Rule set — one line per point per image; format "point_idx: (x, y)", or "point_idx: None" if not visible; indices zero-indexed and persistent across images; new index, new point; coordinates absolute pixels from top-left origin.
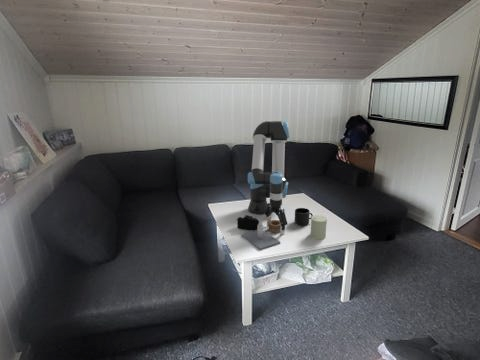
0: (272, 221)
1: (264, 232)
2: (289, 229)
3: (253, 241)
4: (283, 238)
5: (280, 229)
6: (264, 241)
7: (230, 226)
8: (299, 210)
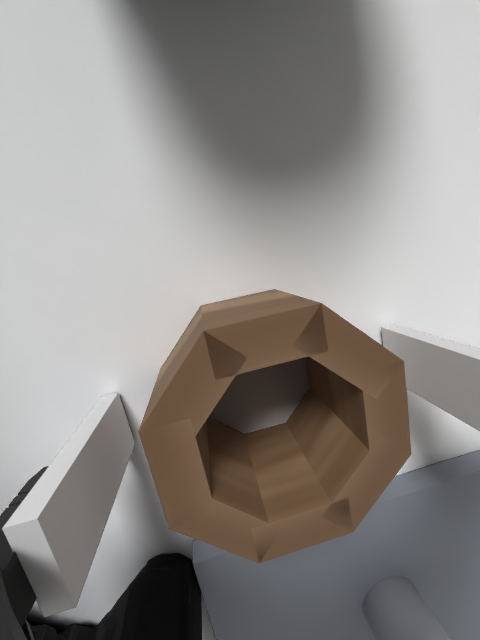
0: (206, 476)
1: None
2: (311, 191)
3: None
4: None
5: (451, 409)
6: (464, 579)
7: None
8: None
